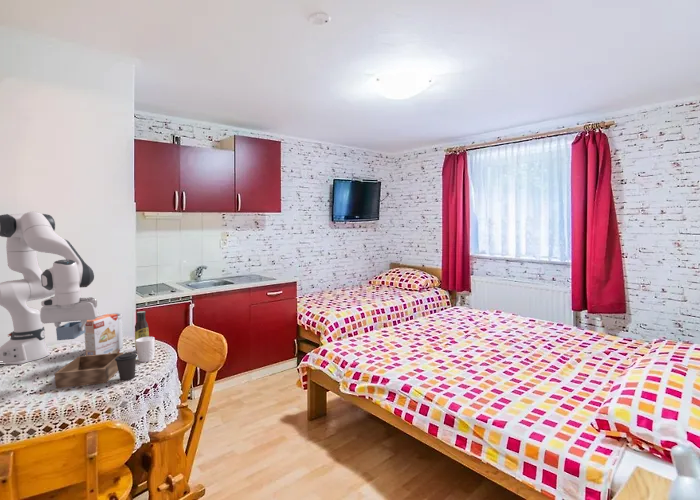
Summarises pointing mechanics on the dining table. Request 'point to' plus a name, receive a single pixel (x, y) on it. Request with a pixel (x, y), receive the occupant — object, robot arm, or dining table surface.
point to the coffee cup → (126, 366)
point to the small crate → (69, 331)
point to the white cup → (145, 349)
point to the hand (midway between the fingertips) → (71, 331)
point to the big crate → (87, 370)
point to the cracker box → (102, 335)
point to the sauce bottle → (141, 326)
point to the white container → (118, 328)
